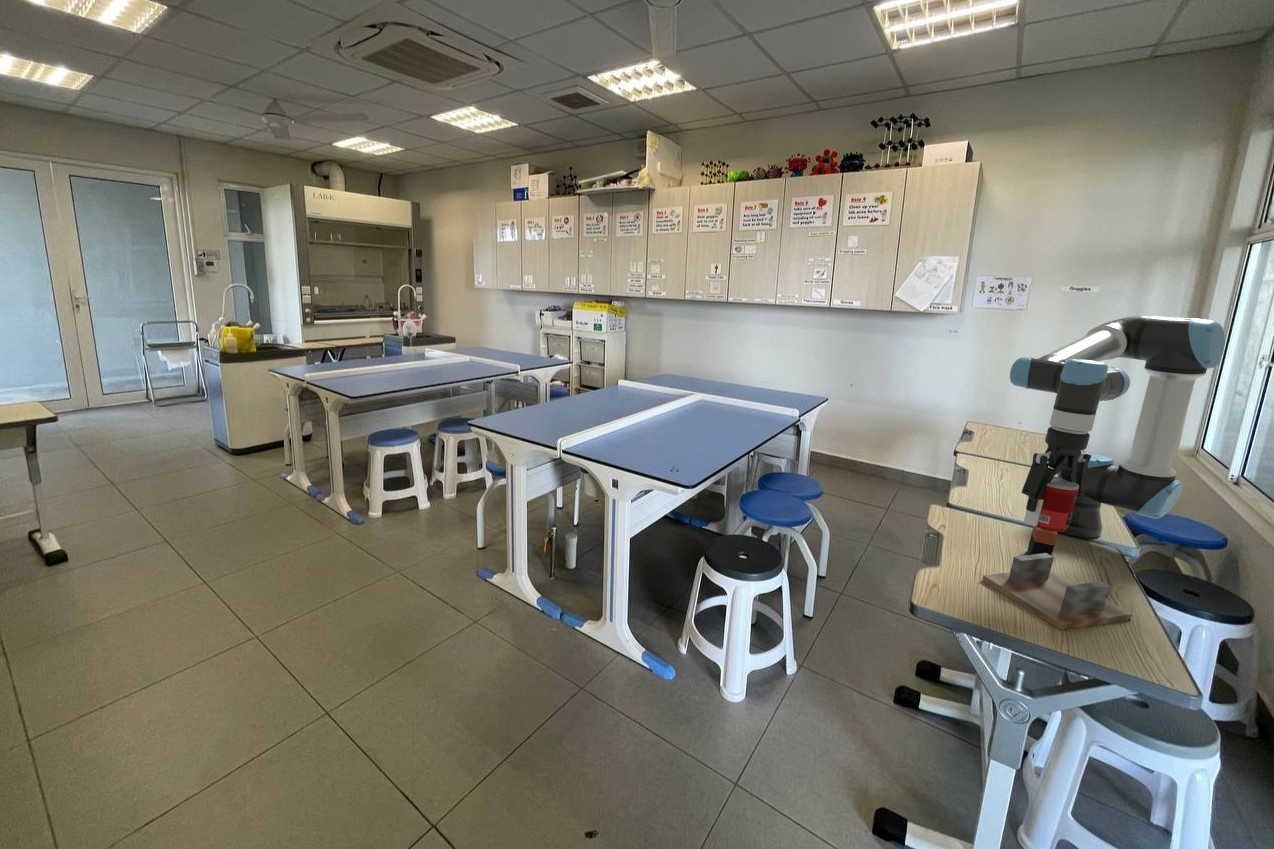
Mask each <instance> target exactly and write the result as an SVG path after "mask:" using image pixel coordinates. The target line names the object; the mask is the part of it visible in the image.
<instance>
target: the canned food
mask: <svg viewBox="0 0 1274 849" xmlns="http://www.w3.org/2000/svg"><path fill="white" fill-rule="evenodd" d="M1078 490H1079V485H1078V484H1077V483H1075V482H1069V481H1067V480H1064V479H1062V478H1060V477H1057V476H1056V475H1055V476H1054V477H1053V479H1052V481H1051V482H1050V483H1048V484H1047V487H1046V490H1045V492H1044V494H1043V495H1042V497H1041V499H1042V500H1043V504H1042V508H1041V512H1040V516H1039V520H1038V524H1037V526H1035V527H1038V528H1041V529H1044V530H1048V531H1055V532H1057V533H1062V531H1066V529H1067V528H1068V526H1069V523H1070V519H1071V516H1072V512H1073V509H1074V505H1075V501H1076V498H1077V494H1078ZM1036 493H1037V492H1036Z"/></svg>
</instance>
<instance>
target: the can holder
mask: <svg viewBox="0 0 1274 849" xmlns="http://www.w3.org/2000/svg"><path fill="white" fill-rule="evenodd" d="M1054 559H1055V557H1054V556H1053V555H1052V556H1051V555H1049V554H1047V553H1043V554H1034V555H1029V554H1028V555H1027V554H1026V555H1025V554H1024V555H1017V556H1016V555H1015V556H1013V558H1012V563H1011V564H1012V565H1011V568H1010V571H1008V572H1001V573H1000V572H998V573H991V574H984V575H982V580H981V581H982V582H983V583H985V584H987V585H988V586H990V587H991V588H992V589H994V590H997V591H998V592H999V593H1001V594H1002V595H1004V596H1005V597H1007V598H1009V599H1010V600H1012V601H1013V602H1015V603H1016V604H1018V605H1020V606H1022V607H1023V608H1025V609H1026V610H1028V611H1029V612H1030V613H1032V614H1034V615H1035V616H1037V617H1038V618H1040V619H1042V620H1043V621H1045V622H1047V623H1048V624H1049V625H1051V626H1053V627H1055V628H1056V629H1058V630H1060V631H1069V630H1075V629H1081V628H1082V629H1083V628H1087V627H1093V626H1099V625H1106V624H1112V623H1120V622H1124V620H1126V621H1129V620H1128V619H1131V620H1132V617H1133V613H1132V612H1129V611H1128V610H1126V609H1124V608H1123V607H1120V606H1119V605H1117V604H1115V603H1113V602H1111V601H1110V600H1108V597H1109V593H1110V590H1111V587H1112V586H1111V585H1110V584H1108V583H1106V582H1105V581H1095V582H1092V581H1091V582H1088V583H1087V582H1086V583H1079V584H1078V583H1075V582H1074V581H1072V580H1070V579H1068V578H1066V577H1064V576H1062V575H1061V574H1059V573H1058V572H1056V571H1054V570H1051V569H1052V567H1053V562H1054ZM1119 621H1120V622H1119Z"/></svg>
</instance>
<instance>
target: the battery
mask: <svg viewBox="0 0 1274 849" xmlns="http://www.w3.org/2000/svg"><path fill="white" fill-rule="evenodd" d="M1057 538H1058V532H1055V531H1048V530H1044V529H1041V528H1038V527H1035V526H1033V527H1032V531H1031V535H1030V538H1029V543H1028V546H1027V553H1028V555H1034V554H1043V553H1047V554H1049V555H1051V556H1053V552H1054V548H1055V546H1056V541H1057Z"/></svg>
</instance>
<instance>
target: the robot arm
mask: <svg viewBox="0 0 1274 849" xmlns="http://www.w3.org/2000/svg"><path fill="white" fill-rule="evenodd" d="M1225 335H1226V334H1225V330H1224V327H1223V325H1221V323H1220V322H1218V321H1215V320H1210V319H1205V318H1203V319H1202V318H1196V317H1177V316H1173V317H1171V316H1152V315H1135V316H1134V315H1132V316H1127V317H1122V318H1118V319H1115V320H1111V321H1107V322H1105V323H1103V324H1100V325H1098V326H1096V327H1095V326H1094V327H1093V328H1091V329H1090V330H1088V331H1087V333H1086V334H1085V335H1084V336H1083V337H1081V338H1078V339H1076V340H1074V341H1072V342H1070V343H1068V344H1066V345H1064V346H1061V347H1059V348H1058V349H1055V350H1053V351H1051V352H1049V353H1047V354H1045V355H1043V356H1040V357H1038V358H1033V357H1023V356H1022V357H1019V358H1017V359H1016V360H1015V361H1014V362H1013V364H1012V365H1011V368H1010V373H1009V380H1010V383H1011V384H1012V385H1013V386H1016V387H1020V388H1025V389H1026V390H1027V389H1028V390H1033V391H1040V392H1047V393H1053V394H1056V396H1055V400H1054V404H1053V409H1052V412H1051V416H1050V421H1049V425H1050V427H1048V428H1047V431H1046V435H1045V439H1044V442H1045V444H1047V448H1046V450H1045V452H1043V453H1041V454H1040V453H1038V452H1035V453H1033V455H1032V463H1031V466H1030V469H1029V471H1028V473H1027V476H1026V479H1025V482H1024V485H1023V487H1022V489H1021V494H1023V495H1025V496H1027V497H1028V498H1027V502H1026V506H1025V511H1026V512H1025V516H1024V520H1023V522H1024V523H1027V524H1029V525H1031V526H1037V524H1038V520H1039V516H1040V512H1041V508H1042V504H1043V500H1042V499H1041V497H1042V495H1043V494H1044V492H1045V490H1046V487H1047V484H1048V483H1050V482H1051V481H1052V479H1053V477H1054V476H1055V477H1060V478H1062V479H1064V480H1067V481H1069V482H1075V483H1077V484H1078V485H1079V490H1078V494H1077V498H1076V501H1075V505H1074V509H1073V512H1072V516H1071V519H1070V523H1069V526H1068V528H1067V529H1066V531H1062V532H1061V533H1062V534H1066V535H1071V536H1074V537H1081V538H1098V537H1100V536H1101V535H1102V531H1103V523H1102V514H1101V507H1102V504H1103V505H1107V506H1111V507H1113V508H1116V509H1119V510H1123V511H1126V512H1130V513H1132V514H1136V515H1137V516H1142V517H1143V516H1144V517H1147V518H1151V519H1160V518H1162V517H1165V515H1166V514H1168V513H1169V512H1170V511H1171V509H1173V507H1174V506H1175V504H1176V502H1177V501H1178V499H1179V498H1180V496H1181V493H1182V490H1183V488H1184V485H1183V483H1182V482H1183V481H1180V480H1178V479H1176V477H1177V471H1176V470H1175V469H1174V468H1173V466H1172V463H1173V458H1174V455H1175V451H1176V448H1177V444H1178V441H1179V438H1180V435H1181V431H1182V427H1183V425H1184V421H1185V418H1186V414H1187V410H1188V407H1189V403H1190V401H1191V396H1192V392H1193V389H1194V386H1195V382H1196V380H1197V379H1199V378H1200V377H1203V376H1205V375H1206V374H1207V371H1208V369H1213V368H1216V367H1217V366H1218V364H1219V363H1220V361H1221V358H1222V357H1223V354H1224V350H1225V349H1224V348H1225V340H1226V339H1225V338H1226V337H1225ZM1116 358H1122V359H1133V360H1138V361H1139V360H1140V361H1145V364H1144V370H1145V371H1146V372H1147V373H1148V374H1149V378H1148V383H1147V387H1146V391H1145V393H1144V397H1143V402H1142V405H1141V409H1140V413H1139V417H1138V422H1137V424H1136V428H1135V432H1134V435H1133V440H1132V444H1131V448H1130V450H1129V451H1130V452H1129V456H1128V458H1126V459H1124V460H1121V461H1120V463H1119V465H1116V464H1115V462H1114V460H1115V459H1113V458H1112V457H1110V456H1106V455H1100V454H1091V453H1087V452H1083V451H1084V450H1086V449H1087V447H1088V444H1089V441H1090V437H1091V434H1090V432H1092V431H1093V428H1094V423H1095V420H1096V414H1097V410H1098V408H1099V403H1100V402H1103V401H1104V402H1107V401H1111V400H1115V399H1118V398H1120V397H1121V396H1123V395H1124V394H1126V393H1127V392H1128V390H1129V388H1130V384H1131V380H1130V376H1129V375H1128V373H1126V371H1124V370H1123V369H1121V368H1117V367H1113V366H1108V364H1107V363H1106V362H1103V361H1108V360H1113V359H1116ZM1056 475H1057V476H1056ZM1036 492H1037V493H1036Z"/></svg>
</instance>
